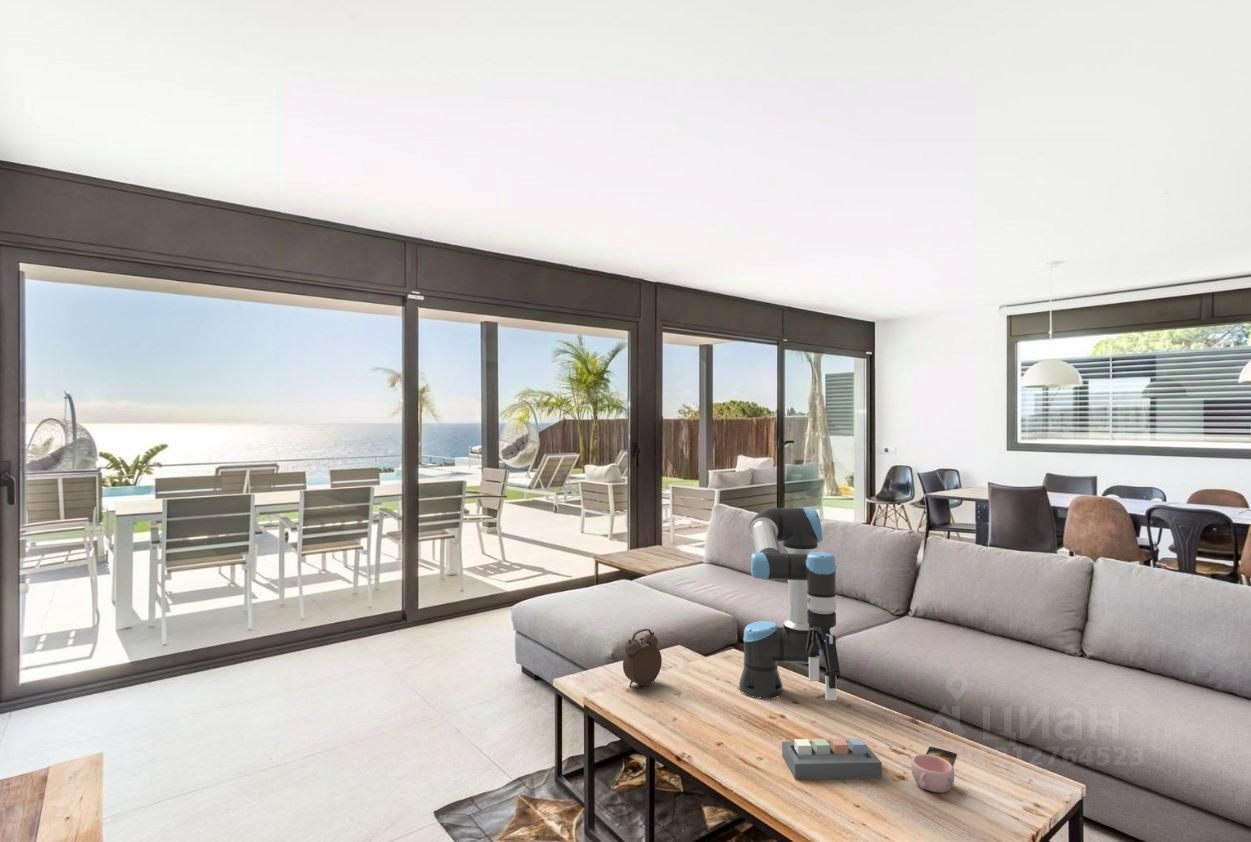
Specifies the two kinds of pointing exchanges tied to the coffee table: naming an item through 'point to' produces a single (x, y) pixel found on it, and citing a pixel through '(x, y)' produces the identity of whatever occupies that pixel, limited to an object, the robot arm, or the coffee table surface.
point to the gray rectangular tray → (831, 764)
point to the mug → (932, 773)
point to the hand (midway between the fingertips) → (822, 689)
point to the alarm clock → (642, 659)
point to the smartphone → (942, 754)
